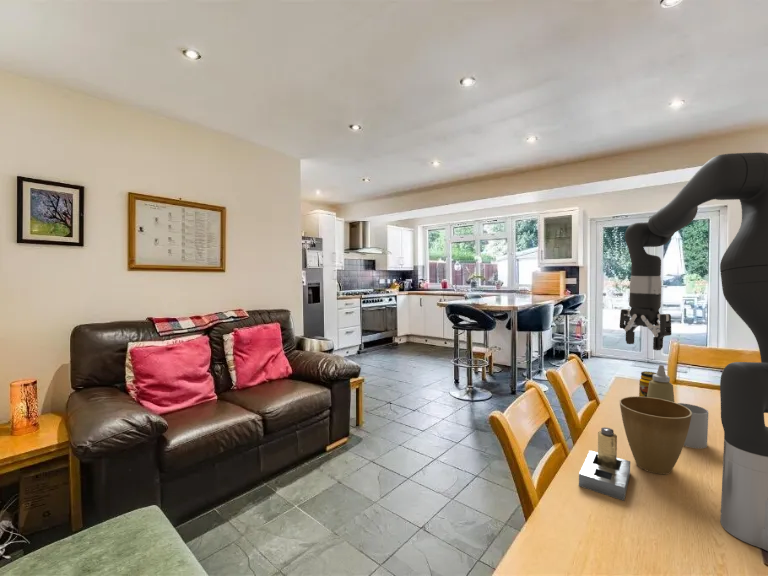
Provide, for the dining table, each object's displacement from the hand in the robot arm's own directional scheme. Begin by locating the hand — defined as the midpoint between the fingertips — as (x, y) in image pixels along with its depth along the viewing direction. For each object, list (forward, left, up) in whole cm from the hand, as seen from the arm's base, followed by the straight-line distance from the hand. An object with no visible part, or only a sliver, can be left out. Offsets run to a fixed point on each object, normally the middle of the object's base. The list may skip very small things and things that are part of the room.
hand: (643, 346), depth 108 cm
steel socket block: (-14, +26, -28) cm, 41 cm away
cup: (-4, -13, -28) cm, 31 cm away
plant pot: (-12, +10, -28) cm, 32 cm away
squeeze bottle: (+12, -22, -28) cm, 38 cm away
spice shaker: (-12, +24, -28) cm, 39 cm away
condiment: (+23, -30, -28) cm, 47 cm away
